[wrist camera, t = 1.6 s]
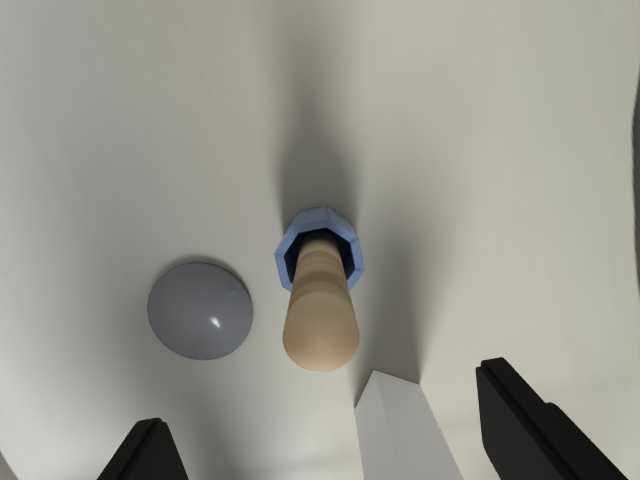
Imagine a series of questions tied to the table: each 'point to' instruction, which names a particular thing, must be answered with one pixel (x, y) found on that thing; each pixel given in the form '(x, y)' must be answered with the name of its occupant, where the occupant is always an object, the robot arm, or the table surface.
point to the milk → (400, 433)
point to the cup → (311, 221)
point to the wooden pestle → (320, 307)
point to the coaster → (200, 311)
